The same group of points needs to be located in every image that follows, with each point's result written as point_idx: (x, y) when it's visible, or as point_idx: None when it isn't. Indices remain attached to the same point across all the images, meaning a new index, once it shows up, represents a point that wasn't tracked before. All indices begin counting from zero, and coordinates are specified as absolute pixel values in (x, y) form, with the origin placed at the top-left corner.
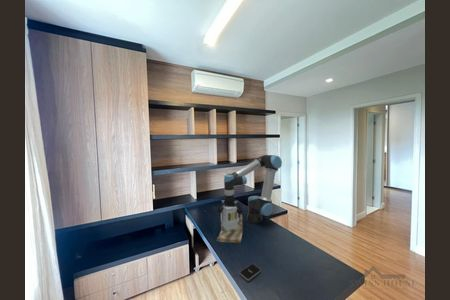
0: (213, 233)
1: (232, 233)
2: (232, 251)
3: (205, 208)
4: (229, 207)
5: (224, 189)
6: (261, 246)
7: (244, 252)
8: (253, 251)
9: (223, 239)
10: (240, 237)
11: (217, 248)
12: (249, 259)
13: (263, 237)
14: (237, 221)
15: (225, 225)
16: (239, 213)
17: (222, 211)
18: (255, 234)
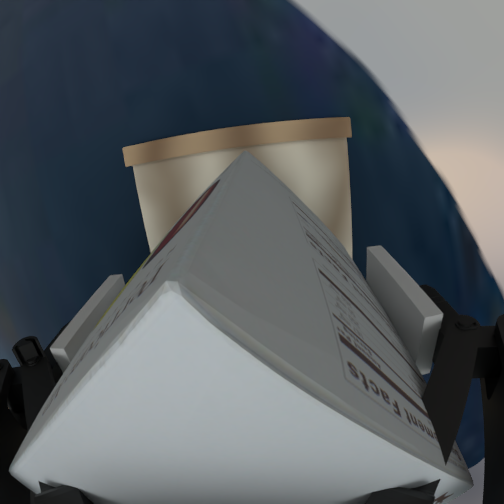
0: (404, 231)
1: None
2: (165, 29)
3: (465, 457)
4: (149, 470)
5: None
6: (10, 173)
7: (83, 58)
8: (37, 97)
9: (282, 122)
10: (150, 221)
11: (297, 27)
12: (51, 17)
13: (28, 279)
14: (114, 279)
15: (285, 187)
16: (13, 347)
17: (415, 367)
18: (78, 303)
